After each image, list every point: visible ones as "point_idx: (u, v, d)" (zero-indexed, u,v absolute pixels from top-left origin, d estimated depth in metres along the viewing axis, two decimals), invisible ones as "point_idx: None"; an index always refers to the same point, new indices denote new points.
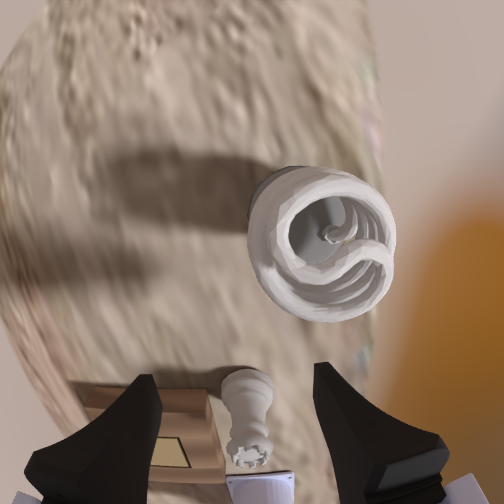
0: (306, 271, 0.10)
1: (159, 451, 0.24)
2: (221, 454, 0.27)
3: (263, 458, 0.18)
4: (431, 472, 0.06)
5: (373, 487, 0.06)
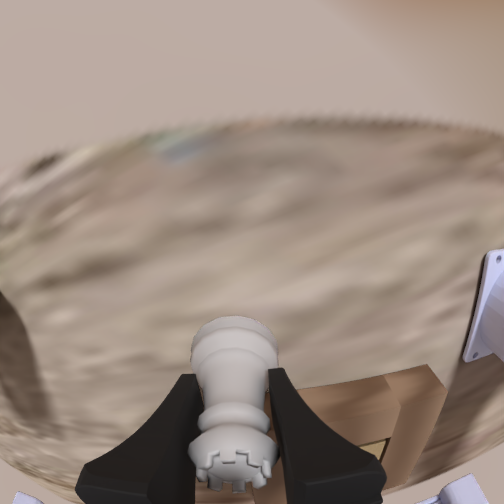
0: None
1: None
2: (394, 382, 0.16)
3: (248, 455, 0.09)
4: (368, 493, 0.06)
5: (300, 502, 0.06)
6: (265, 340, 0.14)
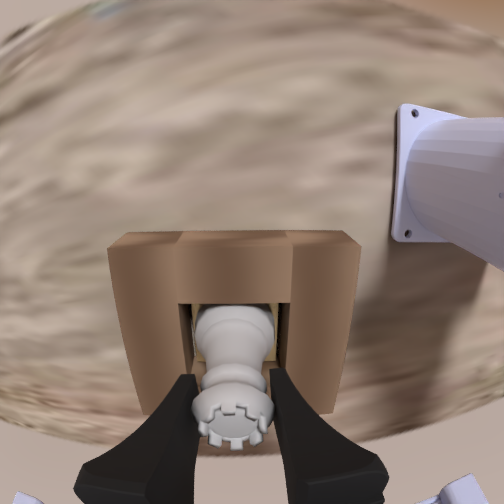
0: None
1: None
2: (294, 234, 0.16)
3: (247, 409, 0.10)
4: (370, 492, 0.06)
5: (302, 502, 0.06)
6: (263, 314, 0.16)
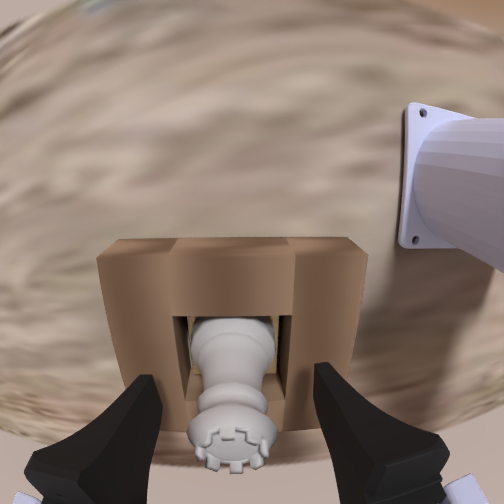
0: None
1: None
2: (296, 241, 0.15)
3: (247, 433, 0.09)
4: (431, 472, 0.06)
5: (373, 487, 0.06)
6: (264, 327, 0.15)
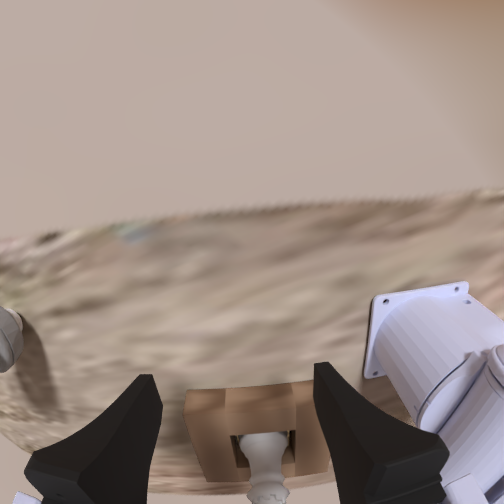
0: None
1: None
2: (297, 389, 0.24)
3: (275, 495, 0.18)
4: (431, 472, 0.06)
5: (373, 487, 0.06)
6: (280, 433, 0.23)
